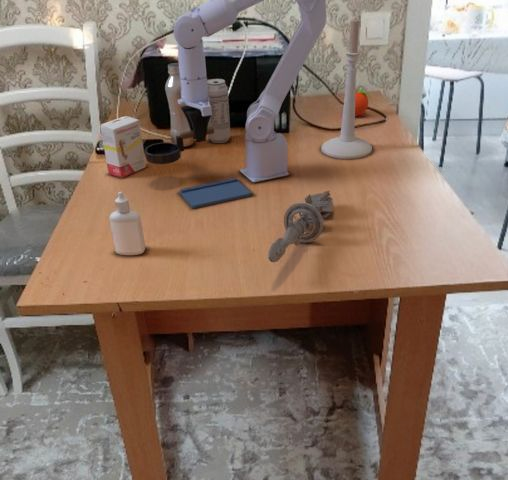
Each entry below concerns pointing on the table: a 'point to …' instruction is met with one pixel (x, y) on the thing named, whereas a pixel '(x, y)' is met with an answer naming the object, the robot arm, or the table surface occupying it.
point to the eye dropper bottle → (126, 228)
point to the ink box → (123, 146)
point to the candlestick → (349, 110)
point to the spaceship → (302, 223)
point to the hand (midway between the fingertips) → (199, 139)
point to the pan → (169, 149)
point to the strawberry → (360, 102)
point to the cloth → (214, 193)
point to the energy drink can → (219, 110)
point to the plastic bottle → (176, 105)
